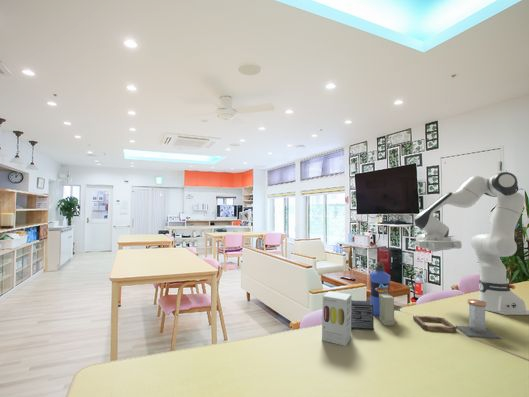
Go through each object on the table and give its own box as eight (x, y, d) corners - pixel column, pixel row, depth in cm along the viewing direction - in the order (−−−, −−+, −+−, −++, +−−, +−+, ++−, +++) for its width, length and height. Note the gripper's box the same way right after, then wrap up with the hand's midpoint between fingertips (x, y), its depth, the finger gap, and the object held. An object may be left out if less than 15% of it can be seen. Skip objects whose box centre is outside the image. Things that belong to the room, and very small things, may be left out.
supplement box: (321, 340, 111) (321, 295, 112) (327, 332, 119) (328, 290, 120) (346, 346, 107) (346, 299, 108) (351, 337, 115) (352, 293, 116)
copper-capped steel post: (481, 328, 124) (480, 299, 125) (490, 334, 118) (490, 304, 119) (464, 327, 125) (464, 298, 126) (473, 333, 119) (472, 303, 120)
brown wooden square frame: (442, 321, 134) (442, 317, 134) (457, 332, 121) (457, 328, 121) (412, 319, 136) (412, 315, 136) (423, 330, 123) (423, 325, 123)
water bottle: (393, 317, 138) (393, 264, 139) (373, 317, 138) (373, 263, 139) (385, 311, 147) (385, 260, 148) (367, 310, 147) (367, 260, 148)
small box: (370, 324, 128) (370, 300, 129) (374, 330, 122) (374, 305, 122) (345, 323, 129) (345, 299, 130) (348, 329, 123) (348, 303, 123)
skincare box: (394, 326, 127) (394, 297, 128) (384, 325, 127) (384, 297, 128) (388, 320, 134) (388, 293, 134) (379, 320, 134) (379, 293, 134)
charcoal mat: (485, 329, 126) (485, 327, 126) (501, 338, 116) (501, 337, 116) (455, 326, 127) (455, 325, 127) (468, 336, 118) (468, 335, 118)
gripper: (412, 237, 159) (422, 239, 146) (452, 237, 157) (467, 239, 143) (413, 248, 159) (423, 252, 145) (453, 249, 156) (467, 252, 143)
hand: (445, 245), depth 144 cm, fingers open, 8 cm apart
